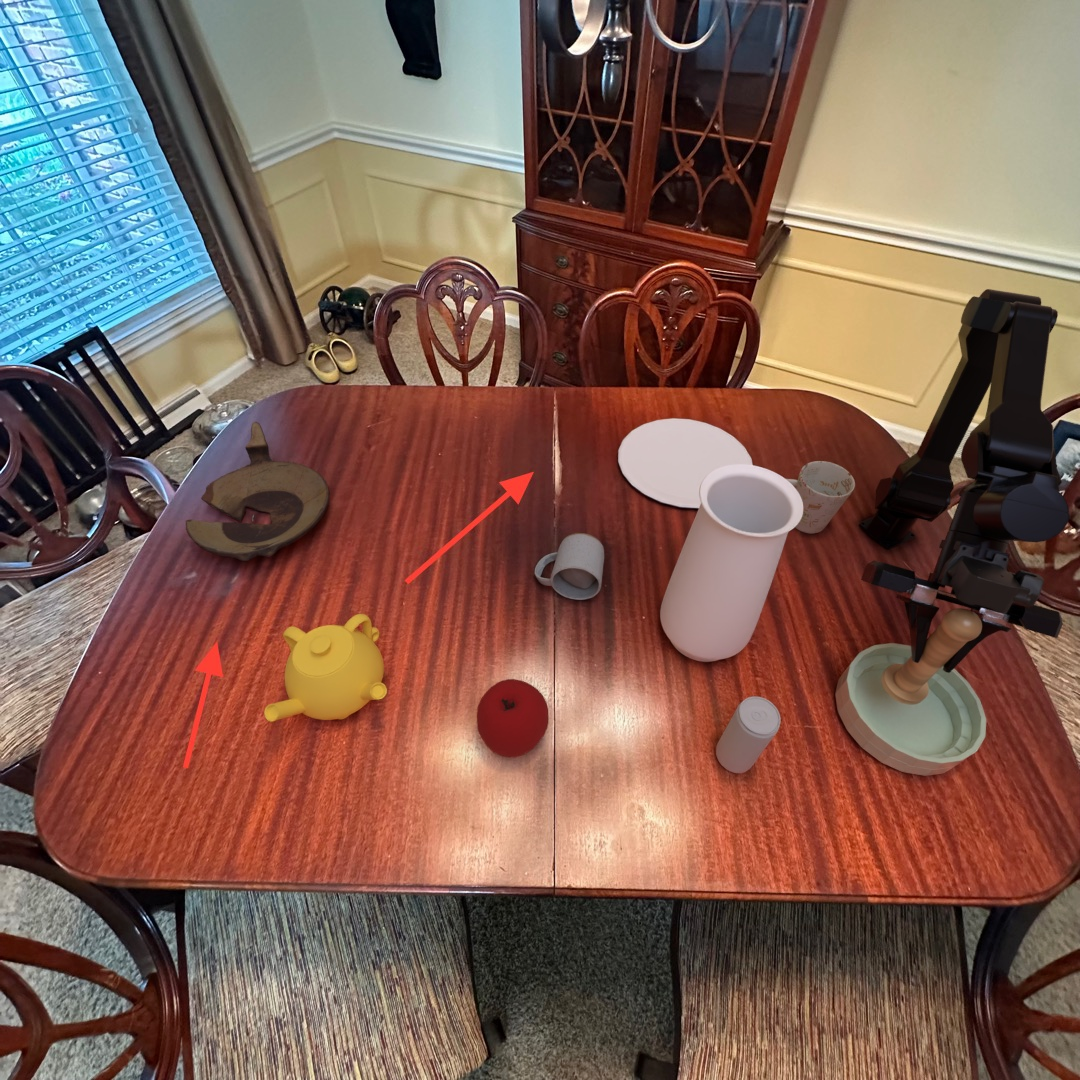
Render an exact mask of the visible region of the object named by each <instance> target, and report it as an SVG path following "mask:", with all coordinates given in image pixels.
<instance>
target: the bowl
mask: <svg viewBox="0 0 1080 1080" xmlns="http://www.w3.org/2000/svg"><path fill="white" fill-rule="evenodd" d="M911 656H912V653H911V645H908V644H902V643H894V642H889V643H881V644H874V645H871V646H869V647H867V648H865V649H864V650H861V651H860V652H859V653H858V654H857V655H855V657H854V659H853V660H852V661H851V662H850V664H848V666H847V667H846V669H845V670H844V671H843V672H842V674H841V676H840V677H839V678H838V680H837V684H836V689H835V701H836V702H835V703H836V708H837V713H838V715H839V717H840V719H841V721H842V723H843V725H844V727H845V729H846V731H847V732H848V734H849V735H850V736H851V737H852V738H853V739H854V741H855V742H856V743H857V744H858V746H859V747H860V748H861V749H863V750H864V751H865V752H866V753H868V754H869V755H870V756H872V757H873V758H875V759H876V760H877V761H879V762H880V763H882V764H884V765H886V766H888V767H889V768H890V767H891V768H892V769H895V770H897V771H899V772H902V773H906V774H912V775H918V776H925V777H927V776H935V775H941V774H945V773H947V772H949V771H951V770H952V769H953V768H955V767H957V766H959V765H960V764H962V763H963V762H964V761H966V760H968V758H970V757H972V756H973V755H974V754H975V753H977V752H978V750H979V749H980V747H981V746H982V744H983V742H984V740H985V739H986V736H987V735H986V734H987V715H986V713H985V710H984V707H983V705H982V701H981V699H980V697H979V696H978V695H977V693H976V691H975V690H974V688H973V687H972V685H971V684H970V682H969V681H968V680H967V679H966V678H965V677H964V676H962V675H961V673H960V672H958V671H957V670H956V669H955V668H954V669H953V670H952V671H951V672H950V673H947V672H945V671H943V667H944V665H943V666H942V667H941V668H940V669H939V670H938V671H937V672H936V673H935V674H934V675H933V676H932V677H931V678H930V679H929V680H928V681H927V683H928V687H929V692H928V695H927V697H926V698H925V699H924V700H923V701H922V702H920V703H918V704H915V705H908V704H903V703H900V702H898V701H896V700H895V699H893V698H892V697H891V696H890V695H889V694H888V693H887V692H886V691H885V689H884V688H883V686H882V682H881V676H882V673H883V672H884V671H885V670H886V668H887V667H889V666H890V665H893V664H905V662H906V661H907V660H908V659H909V658H910V657H911Z"/></svg>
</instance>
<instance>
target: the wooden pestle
mask: <svg viewBox="0 0 1080 1080" xmlns="http://www.w3.org/2000/svg"><path fill="white" fill-rule="evenodd" d="M970 610H971V609H969V608H963V607H960V608H959V607H956V608H953V609H951V610H949V611H947V612H946V613H945V614H944V615H943V616H942V619H941V623H940V624H939V625H938V626H937V627H936V628H935V630H934V631H933V632H931V634H930V635H928V637H927V641H926V644H925V648H924V651H923V654H922V656H921V658H920V661H919V663H915V662H913V661H912V656H911V657H910V658H909V659H908V660H907V661H906V662H905V664H893V665H890V666H889V667H887V668H886V670H885V671H884V672H883V673H882V676H881V682H882V686H883V688H884V689H885V691H886V692H887V693H888V694H889V695H890V696H891V697H892V698H893V699H895V700H896V701H898V702H900V703H903V704H908V705H915V704H918V703H920V702H922V701H923V700H924V699H925V698H926V697H927V695H928V692H929V687H928V683H927V681H928V680H929V679H930V678H931V677H932V676H933V675H934V674H935V673H936V672H937V671H938V670H939V669H940V668H941V667H942V666H943V665H944V664H945V663H946V662H947V661H948V660H950V659H951V658H952V657H953V656H954V655H955V654H956V653H957V652H958V651H959V650H960V649H961V648H962V647H963V646H964V645H965V644H966V643H967V642H968V641H971V640H973V639H975V638H976V637H978V636H979V634H980V633H981V630H982V622H981V620H980V618H979V617H978V615H977V614H975V613H974V612H972V611H970Z"/></svg>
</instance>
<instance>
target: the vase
mask: <svg viewBox="0 0 1080 1080" xmlns="http://www.w3.org/2000/svg"><path fill="white" fill-rule="evenodd" d="M786 479H787V478H785V477H783V476H782V475H780V474H778V473H777V472H775V471H773V470H770V469H768V468H765V467H761V466H758V465H754V464H753V465H745V464H735V465H728V466H724V467H721V468H718V469H716V470H714V471H712V472H711V473H709V474H708V475H707V476H706V477H705V478H704V480H703V481H702V483H701V485H700V489H699V497H700V501H701V505H700V507H699V509H697V512H696V514H695V517H694V519H693V521H692V524H691V526H690V529H689V531H688V533H687V536H686V538H685V541H684V543H683V545H682V548H681V551H680V553H679V555H678V558H677V560H676V563H675V566H674V568H673V570H672V573H671V576H670V579H669V581H668V584H667V586H666V590H665V592H664V595H663V598H662V601H661V605H660V609H659V617H660V618H659V619H660V623H661V627H662V629H663V632H664V633H665V635H666V637H667V638H668V639H669V641H670V642H671V644H672V645H673V647H674V649H676V650H677V651H678V652H679V653H680V654H682V655H683V656H685V657H687V658H689V659H690V660H693V661H698V662H701V663H702V662H704V663H710V662H716V661H719V660H726V659H729V658H731V657H734V656H736V655H738V654H739V653H740V652H741V651H742V650H744V649H745V648H746V646H747V645H748V644H749V642H750V641H751V639H752V636H753V635H754V632H755V630H756V627H757V625H758V622H759V619H760V616H761V613H762V611H763V608H764V606H765V603H766V600H767V597H768V594H769V592H770V588H771V586H772V582H773V580H774V577H775V574H776V571H777V569H778V565H779V563H780V559H781V556H782V553H783V550H784V546H785V545H786V540H787V537H788V535H789V532H790V531H792V530H793V529H795V527H796V526H797V524H798V523H799V522H800V520H801V518H802V515H803V502H802V499H801V497H800V495H799V493H798V491H797V490H796V487H794V486H793V485H792V484H791V483H790V482H789V481H787V480H786Z"/></svg>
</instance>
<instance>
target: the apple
mask: <svg viewBox="0 0 1080 1080" xmlns="http://www.w3.org/2000/svg"><path fill="white" fill-rule="evenodd" d="M549 716H550V715H549V707H548V703H547V700H546V699H545V697H544V695H543V693H542V692H541V691H540V690H539V689H538V688H536V687H535V686H534V685H532V684H530V683H528V682H526V681H524V680H520V679H515V678H508V679H504V680H500V681H498V682H496V683H495V684H493V685H492V686H490V687H489V688H488V689H487V690H486V692H485V693H484V694H483V695H482V697H481V698H480V700H479V702H478V705H477V710H476V726H477V731H478V734H479V735H480V738H481V739H482V741H483V743H484V744H485V745H486V747H487V748H488V749H489V750H491V752H493V754H496V755H498V756H501V757H504V758H517V757H521V756H524V755H525V754H528V753H529V752H531V751H532V750H533V749H535V747H536V746H537V745H538V744H539V743H540V741H541V740H543V738H544V736H545V735H546V733H547V730H548V727H549Z"/></svg>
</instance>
